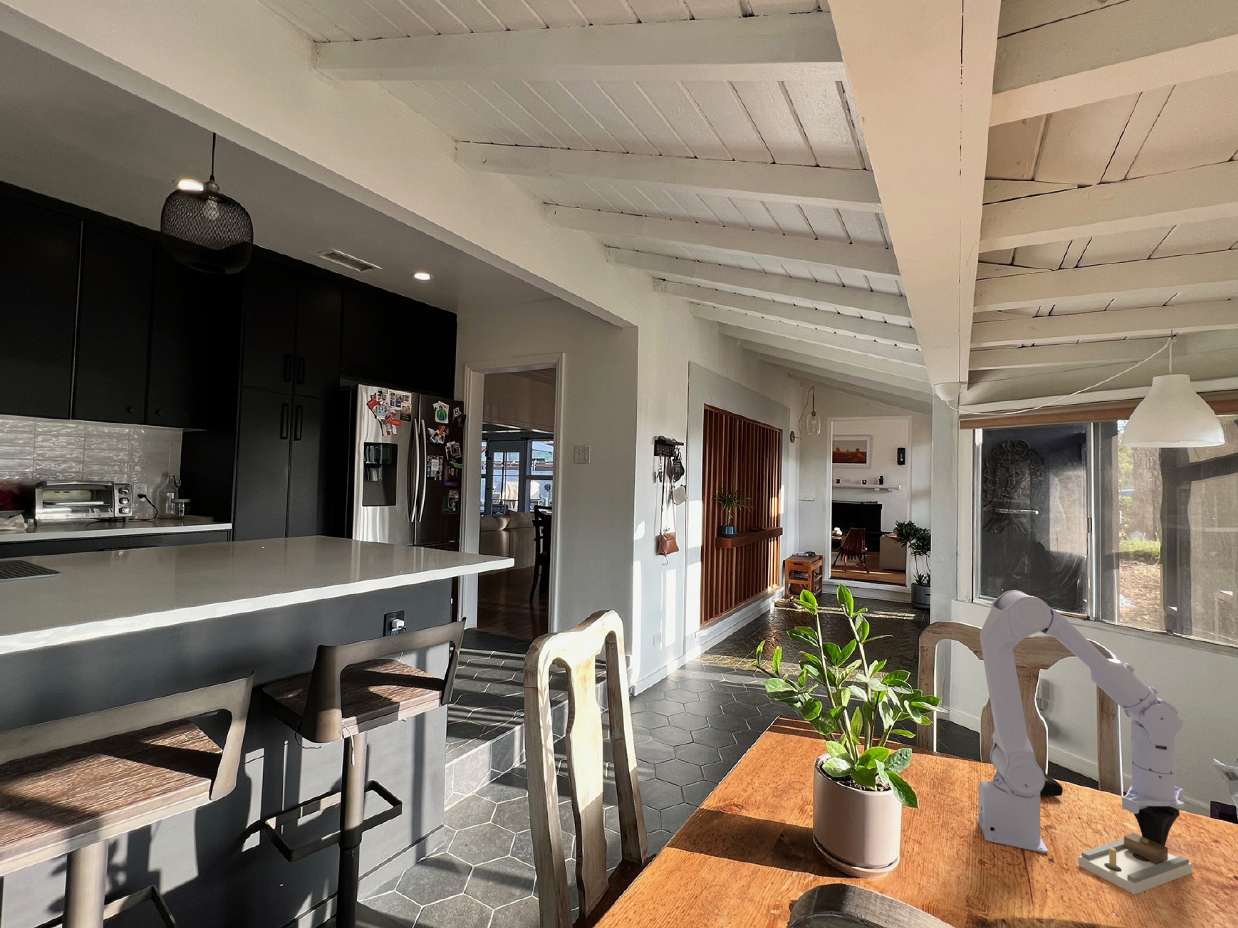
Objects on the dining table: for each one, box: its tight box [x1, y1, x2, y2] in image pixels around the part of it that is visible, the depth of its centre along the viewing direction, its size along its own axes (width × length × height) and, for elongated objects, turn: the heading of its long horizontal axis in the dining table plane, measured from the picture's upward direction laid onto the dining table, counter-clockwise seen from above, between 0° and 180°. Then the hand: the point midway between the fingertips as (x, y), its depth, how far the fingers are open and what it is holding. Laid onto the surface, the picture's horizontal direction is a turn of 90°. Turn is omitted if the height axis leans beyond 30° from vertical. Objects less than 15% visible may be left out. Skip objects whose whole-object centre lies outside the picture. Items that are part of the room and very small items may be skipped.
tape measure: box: [1040, 771, 1064, 797], centre depth 129 cm, size 7×7×4 cm
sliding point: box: [1123, 832, 1169, 864], centre depth 103 cm, size 3×5×2 cm, turn 23°
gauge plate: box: [1078, 838, 1193, 895], centre depth 102 cm, size 16×8×4 cm, turn 113°
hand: (1154, 847), depth 104 cm, fingers closed
